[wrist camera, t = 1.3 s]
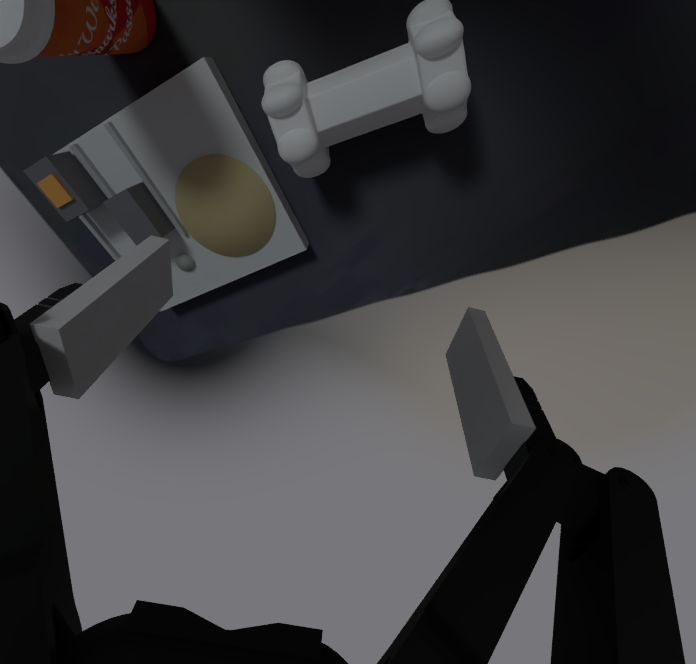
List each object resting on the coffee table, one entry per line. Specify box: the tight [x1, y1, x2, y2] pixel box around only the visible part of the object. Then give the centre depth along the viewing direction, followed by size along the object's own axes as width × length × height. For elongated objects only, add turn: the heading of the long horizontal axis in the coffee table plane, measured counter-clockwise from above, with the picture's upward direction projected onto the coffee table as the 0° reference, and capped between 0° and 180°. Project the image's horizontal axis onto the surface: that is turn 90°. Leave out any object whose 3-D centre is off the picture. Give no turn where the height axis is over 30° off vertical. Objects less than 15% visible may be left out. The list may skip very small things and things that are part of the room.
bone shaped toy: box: [262, 0, 471, 178], centre depth 30 cm, size 15×9×8 cm, turn 108°
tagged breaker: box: [23, 151, 107, 222], centre depth 35 cm, size 5×3×3 cm, turn 24°
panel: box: [53, 57, 309, 311], centre depth 37 cm, size 18×20×5 cm
